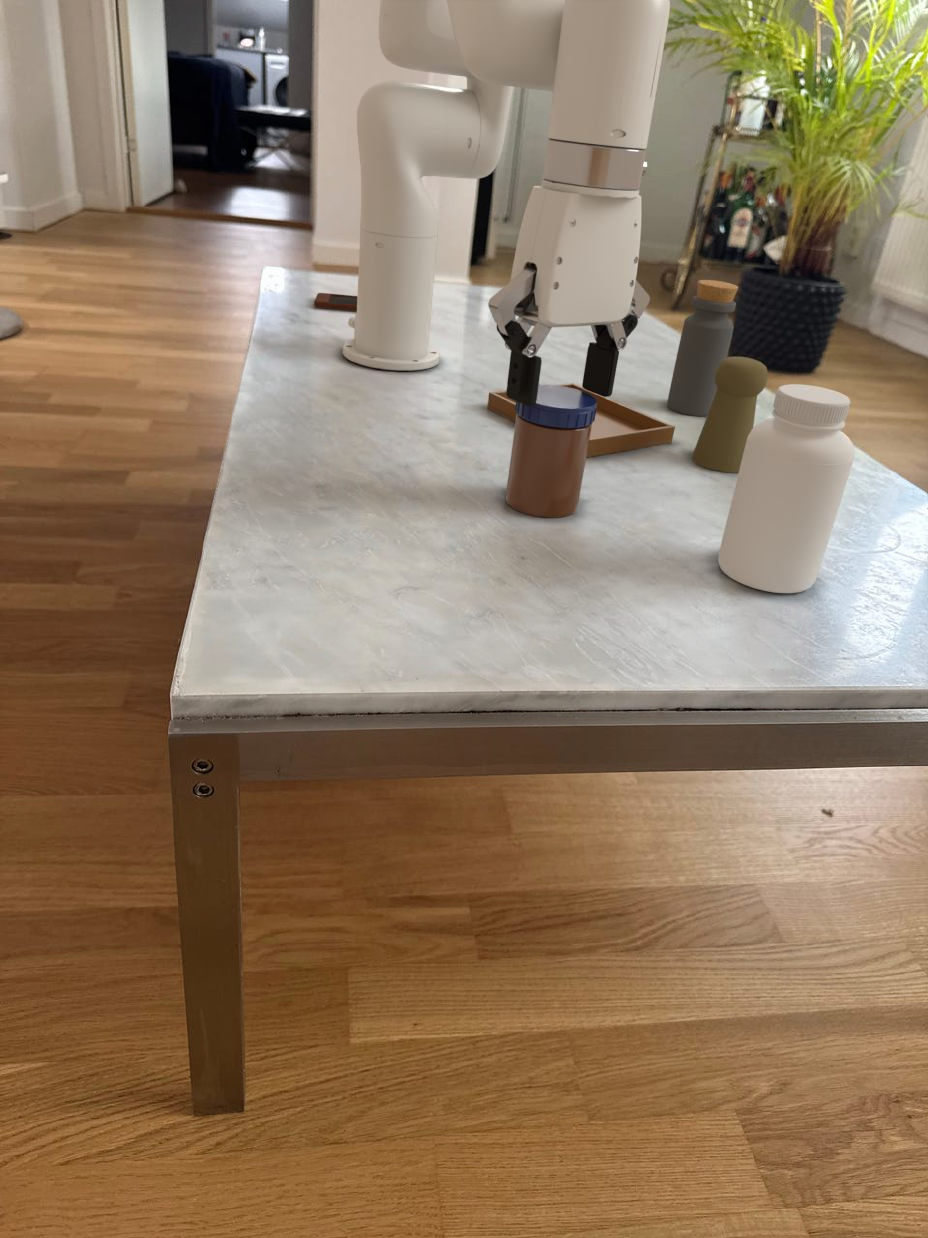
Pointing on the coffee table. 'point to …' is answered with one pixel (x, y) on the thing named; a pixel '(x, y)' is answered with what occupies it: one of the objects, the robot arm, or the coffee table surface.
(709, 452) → the olive pepper mill
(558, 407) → the lid
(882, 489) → the coffee table surface
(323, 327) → the coffee table surface
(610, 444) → the tray
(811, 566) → the pill bottle
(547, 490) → the jar
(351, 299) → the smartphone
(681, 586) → the coffee table surface
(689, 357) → the bottle
